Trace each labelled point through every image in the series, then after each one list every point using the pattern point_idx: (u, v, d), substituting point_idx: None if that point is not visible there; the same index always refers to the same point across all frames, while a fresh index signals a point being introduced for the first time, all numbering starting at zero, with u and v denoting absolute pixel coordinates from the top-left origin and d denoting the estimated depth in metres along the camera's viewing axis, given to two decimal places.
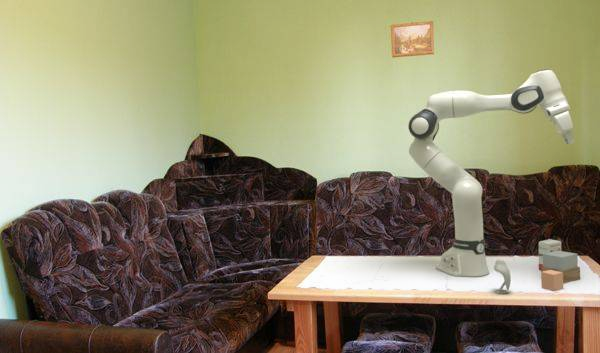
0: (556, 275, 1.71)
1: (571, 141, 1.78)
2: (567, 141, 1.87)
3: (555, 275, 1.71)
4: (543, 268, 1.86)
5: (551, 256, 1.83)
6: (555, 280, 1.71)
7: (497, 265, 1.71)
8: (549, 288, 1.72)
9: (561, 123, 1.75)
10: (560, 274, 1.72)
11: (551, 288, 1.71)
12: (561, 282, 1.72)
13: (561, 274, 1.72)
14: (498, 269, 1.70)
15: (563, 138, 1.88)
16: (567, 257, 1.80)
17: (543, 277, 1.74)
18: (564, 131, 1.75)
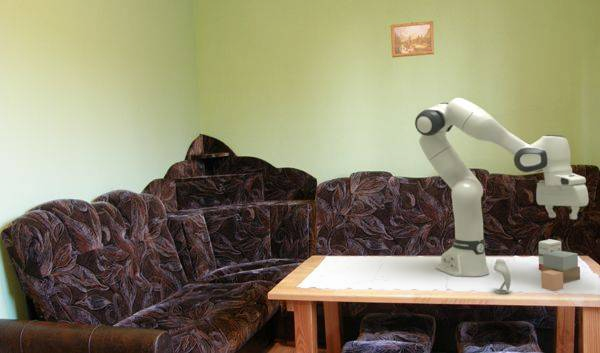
0: (556, 275, 1.71)
1: (575, 216, 1.67)
2: (553, 215, 1.76)
3: (555, 275, 1.71)
4: (543, 267, 1.86)
5: (552, 256, 1.83)
6: (555, 280, 1.71)
7: (497, 265, 1.71)
8: (549, 288, 1.72)
9: (581, 196, 1.62)
10: (560, 274, 1.72)
11: (551, 288, 1.71)
12: (561, 282, 1.72)
13: (561, 274, 1.72)
14: (498, 269, 1.70)
15: (548, 211, 1.77)
16: (568, 257, 1.81)
17: (543, 277, 1.74)
18: (581, 205, 1.62)
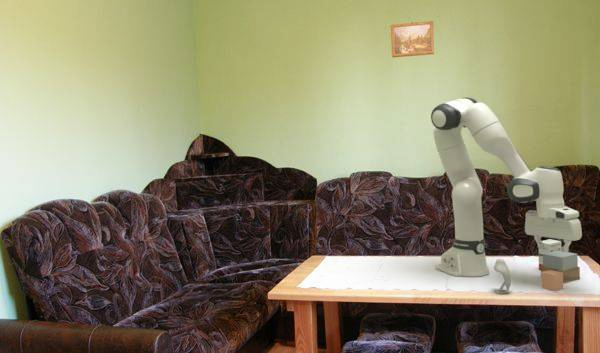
0: (556, 275, 1.71)
1: (566, 249, 1.68)
2: (541, 245, 1.77)
3: (555, 275, 1.71)
4: (543, 268, 1.86)
5: (551, 256, 1.83)
6: (555, 280, 1.71)
7: (497, 265, 1.71)
8: (549, 288, 1.72)
9: (575, 230, 1.63)
10: (560, 274, 1.72)
11: (551, 288, 1.71)
12: (561, 282, 1.72)
13: (561, 274, 1.72)
14: (498, 269, 1.70)
15: (537, 241, 1.77)
16: (567, 257, 1.80)
17: (543, 277, 1.74)
18: (575, 239, 1.63)
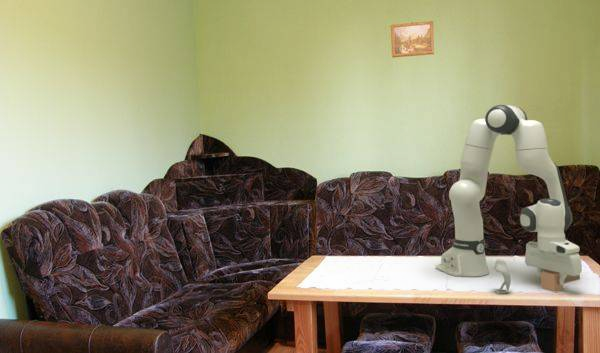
0: (556, 275, 1.71)
1: (562, 282, 1.70)
2: None
3: (555, 275, 1.71)
4: None
5: None
6: (554, 280, 1.71)
7: (497, 265, 1.71)
8: (549, 288, 1.72)
9: (576, 265, 1.64)
10: None
11: (551, 288, 1.71)
12: None
13: None
14: (498, 269, 1.70)
15: (540, 274, 1.77)
16: None
17: (543, 277, 1.74)
18: (575, 274, 1.64)
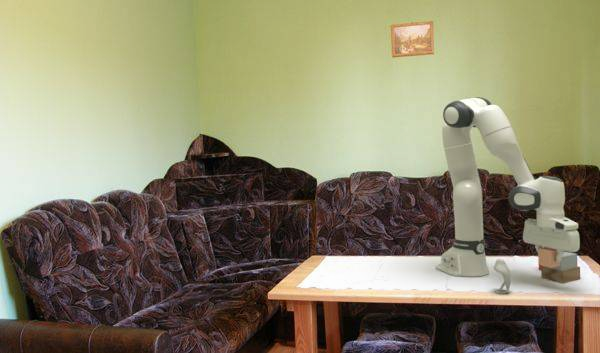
0: (553, 252, 1.71)
1: (559, 259, 1.71)
2: None
3: (553, 252, 1.71)
4: (543, 267, 1.86)
5: None
6: (552, 256, 1.71)
7: (497, 265, 1.71)
8: (546, 264, 1.73)
9: (574, 242, 1.64)
10: None
11: (548, 265, 1.72)
12: None
13: None
14: (498, 269, 1.70)
15: (537, 250, 1.77)
16: (566, 257, 1.80)
17: (540, 253, 1.74)
18: (573, 250, 1.65)
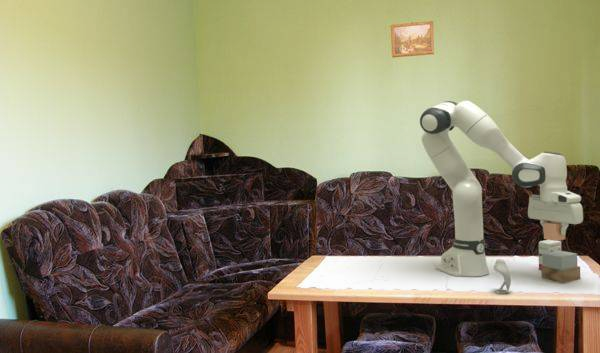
0: (558, 225, 1.75)
1: (564, 232, 1.74)
2: None
3: (557, 225, 1.75)
4: (543, 267, 1.86)
5: (550, 256, 1.83)
6: (556, 229, 1.74)
7: (497, 265, 1.71)
8: (551, 238, 1.76)
9: (577, 214, 1.68)
10: None
11: (553, 238, 1.75)
12: None
13: None
14: (498, 269, 1.70)
15: (542, 225, 1.81)
16: (566, 257, 1.81)
17: (545, 228, 1.78)
18: (576, 222, 1.68)
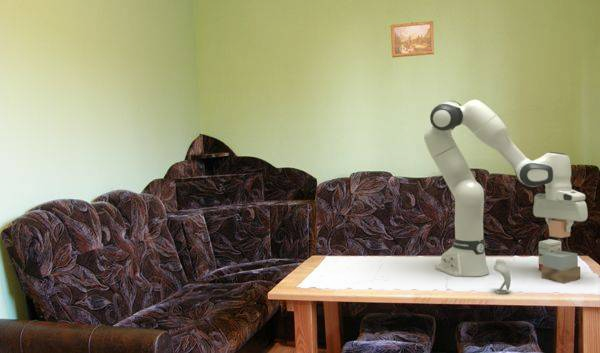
0: (563, 223, 1.81)
1: (569, 229, 1.81)
2: None
3: (563, 223, 1.81)
4: (544, 267, 1.86)
5: (551, 256, 1.83)
6: (562, 227, 1.81)
7: (497, 265, 1.71)
8: (557, 235, 1.82)
9: (582, 211, 1.74)
10: None
11: (559, 235, 1.82)
12: None
13: None
14: (498, 269, 1.70)
15: (548, 223, 1.87)
16: (567, 257, 1.81)
17: (551, 225, 1.84)
18: (581, 220, 1.75)
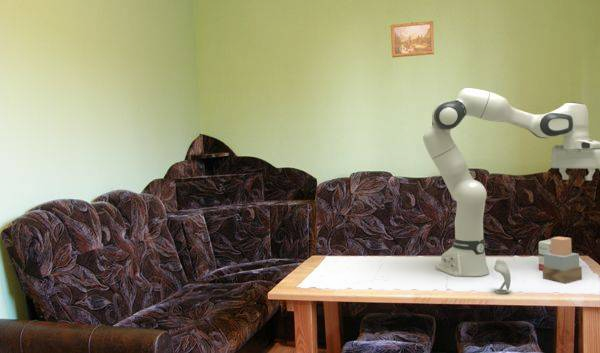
0: (565, 241, 1.81)
1: (590, 178, 1.83)
2: (566, 177, 1.91)
3: (565, 241, 1.81)
4: (545, 268, 1.85)
5: (552, 256, 1.83)
6: (564, 245, 1.81)
7: (497, 265, 1.71)
8: (559, 253, 1.82)
9: None
10: (569, 239, 1.82)
11: (561, 253, 1.82)
12: (569, 247, 1.83)
13: (569, 239, 1.83)
14: (498, 269, 1.70)
15: (562, 173, 1.92)
16: (568, 257, 1.80)
17: (553, 243, 1.84)
18: (599, 167, 1.78)
